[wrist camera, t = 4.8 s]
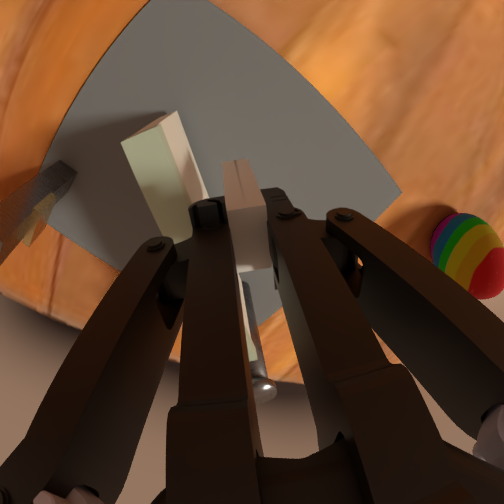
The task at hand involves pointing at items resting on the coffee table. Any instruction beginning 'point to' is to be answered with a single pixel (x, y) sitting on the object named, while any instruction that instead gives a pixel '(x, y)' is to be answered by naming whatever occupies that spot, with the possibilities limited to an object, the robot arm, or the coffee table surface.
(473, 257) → the decorative egg
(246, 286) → the hinge post
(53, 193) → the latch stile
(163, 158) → the gate
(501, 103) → the coffee table surface
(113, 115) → the mat
